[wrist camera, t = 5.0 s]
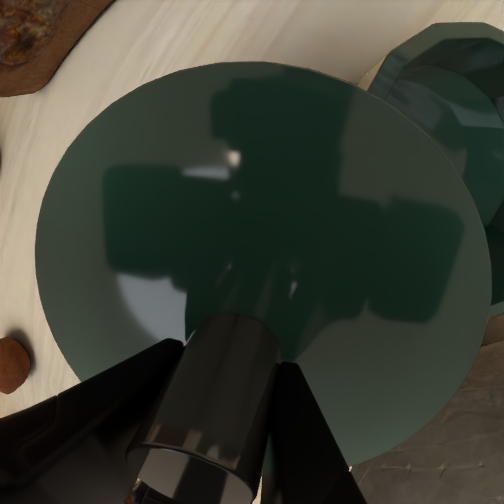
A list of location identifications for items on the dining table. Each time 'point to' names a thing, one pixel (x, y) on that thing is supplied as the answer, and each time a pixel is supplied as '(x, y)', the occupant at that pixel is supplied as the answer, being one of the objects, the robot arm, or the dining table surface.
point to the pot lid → (263, 266)
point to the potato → (12, 365)
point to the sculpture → (39, 39)
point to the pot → (457, 113)
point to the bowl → (449, 448)
